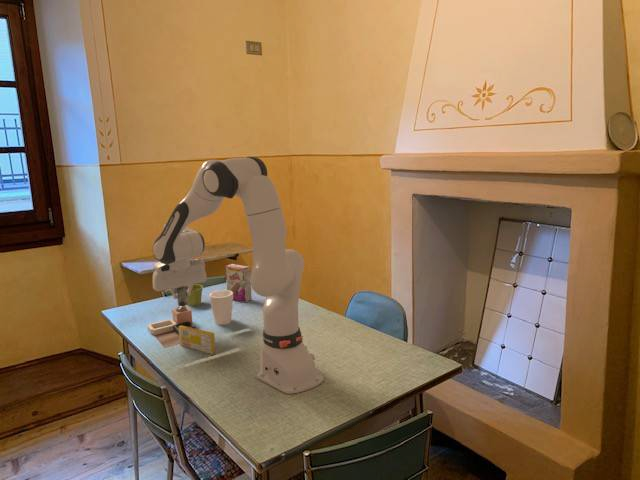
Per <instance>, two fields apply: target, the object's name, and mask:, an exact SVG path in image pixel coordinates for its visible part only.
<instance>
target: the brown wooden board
mask: <svg viewBox="0 0 640 480" xmlns="http://www.w3.org/2000/svg"><path fill="white" fill-rule="evenodd" d="M192 323H193V322H192ZM192 323H191V322H190V321H188V322H184V323H179V324H176V325H173V330H172V331H168V332H164V333H160V334H156V335H154V334H152V335H153V337H155V338H156V340H157V341H158V342H159V343H160V344H161V345H162V347H163V348H165V349H166V348H170V347H173V346H177V345H180V343H179V330H178V327H179V326H181V325H182V326H186V327H190V328H195V329H199V328H198V327H196V325H195V324H194V323H193V324H192ZM167 326H168V325H167ZM163 327H164V326H163ZM159 328H160V327H159ZM155 329H156V328H155Z"/></svg>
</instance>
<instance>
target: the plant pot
mask: <svg viewBox="0 0 640 480" xmlns="http://www.w3.org/2000/svg"><path fill="white" fill-rule="evenodd" d="M188 288H189V287H188V285H186V291H187V290H188ZM203 288H204V286H203V285H202V284H193V288H192V290H191V291H190V292H191V296H187V302H188V304H187V305H186V306H187V307H193V306H194V307H195V306H199V305H201V304H202V292H203Z"/></svg>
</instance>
